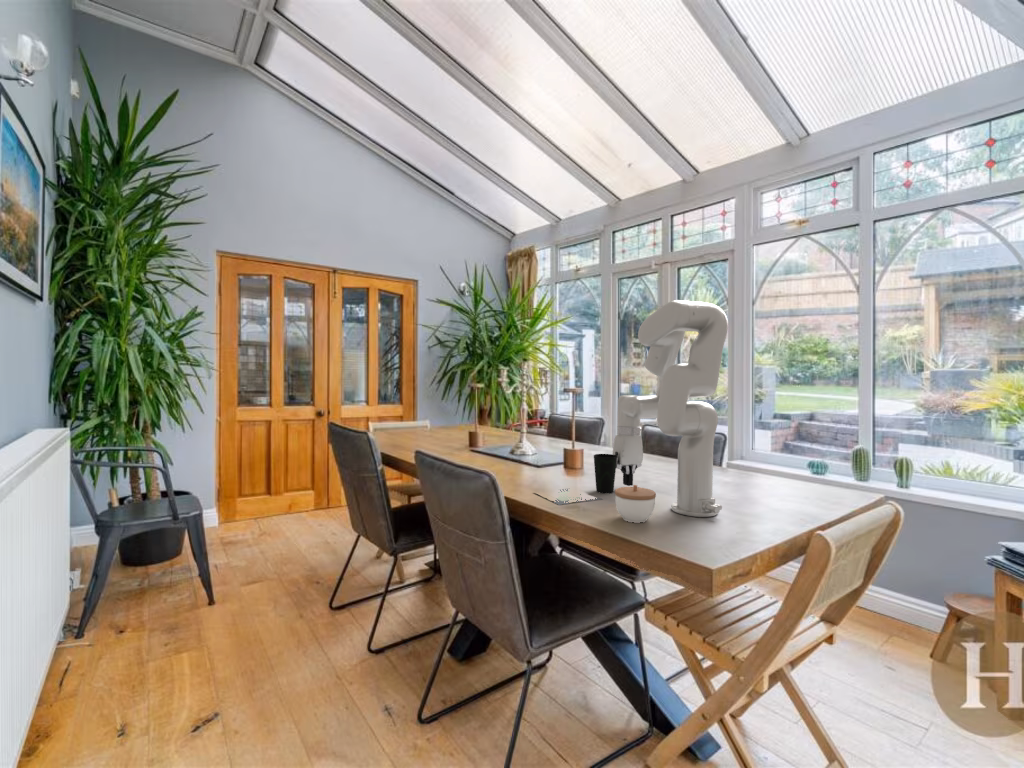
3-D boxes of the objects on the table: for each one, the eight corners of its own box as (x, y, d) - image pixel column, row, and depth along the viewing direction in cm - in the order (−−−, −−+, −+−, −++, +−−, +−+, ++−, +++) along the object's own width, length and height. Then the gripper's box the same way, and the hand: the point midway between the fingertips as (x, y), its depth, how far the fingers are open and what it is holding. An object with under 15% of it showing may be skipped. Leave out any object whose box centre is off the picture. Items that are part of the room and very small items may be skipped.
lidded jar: (632, 527, 129) (633, 491, 128) (606, 516, 138) (607, 483, 138) (663, 522, 134) (664, 487, 133) (636, 512, 143) (637, 479, 143)
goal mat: (602, 499, 157) (602, 498, 157) (558, 505, 150) (558, 504, 150) (573, 488, 171) (573, 487, 171) (532, 493, 164) (532, 492, 164)
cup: (618, 494, 163) (619, 457, 163) (595, 494, 163) (595, 457, 163) (614, 488, 171) (614, 453, 171) (591, 488, 171) (592, 453, 171)
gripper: (638, 429, 178) (637, 480, 178) (604, 431, 171) (603, 484, 171) (653, 431, 171) (652, 485, 171) (618, 433, 164) (617, 489, 165)
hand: (627, 484), depth 171 cm, fingers closed
